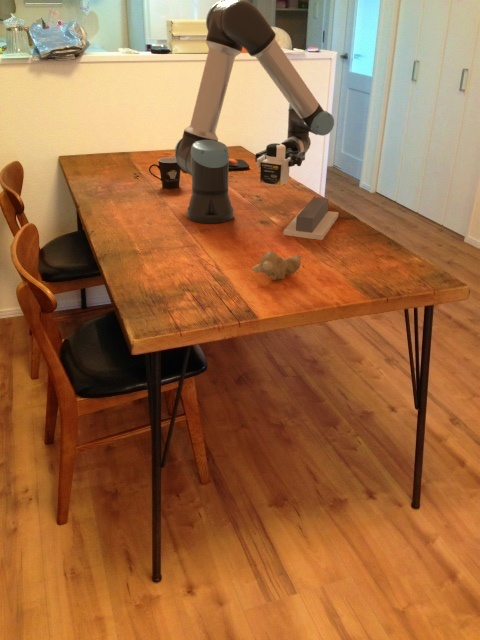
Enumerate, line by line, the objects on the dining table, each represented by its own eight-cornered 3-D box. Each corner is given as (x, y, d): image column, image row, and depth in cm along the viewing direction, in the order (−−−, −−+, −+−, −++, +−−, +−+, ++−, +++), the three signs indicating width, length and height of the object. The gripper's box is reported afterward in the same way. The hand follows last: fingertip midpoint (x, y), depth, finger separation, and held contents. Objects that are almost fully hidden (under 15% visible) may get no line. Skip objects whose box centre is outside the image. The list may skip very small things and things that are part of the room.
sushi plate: (183, 174, 245) (183, 165, 243) (171, 158, 271) (171, 150, 269) (251, 171, 252) (251, 162, 250) (233, 155, 278) (233, 147, 276)
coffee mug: (183, 183, 230) (183, 157, 226) (179, 190, 223) (178, 163, 218) (154, 182, 231) (153, 156, 227) (149, 188, 224) (147, 161, 219)
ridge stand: (322, 240, 177) (323, 220, 174) (283, 234, 181) (284, 215, 178) (338, 216, 197) (339, 199, 194) (303, 212, 201) (304, 195, 198)
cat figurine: (306, 255, 150) (269, 250, 143) (303, 282, 151) (266, 279, 144) (285, 254, 157) (248, 249, 150) (282, 280, 158) (246, 277, 150)
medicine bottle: (259, 183, 190) (260, 145, 184) (269, 178, 196) (270, 141, 190) (280, 186, 187) (281, 147, 181) (289, 181, 193) (291, 143, 187)
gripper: (319, 164, 202) (302, 180, 183) (261, 158, 208) (239, 173, 189) (320, 141, 198) (304, 155, 179) (261, 136, 204) (239, 149, 185)
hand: (270, 164), depth 184 cm, fingers closed on medicine bottle, 8 cm apart
